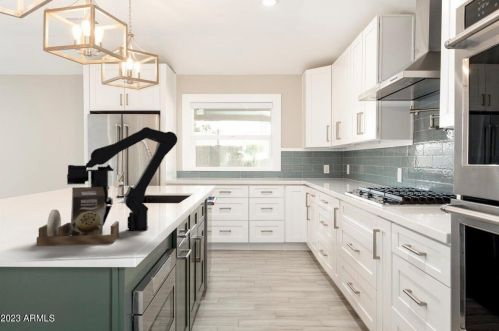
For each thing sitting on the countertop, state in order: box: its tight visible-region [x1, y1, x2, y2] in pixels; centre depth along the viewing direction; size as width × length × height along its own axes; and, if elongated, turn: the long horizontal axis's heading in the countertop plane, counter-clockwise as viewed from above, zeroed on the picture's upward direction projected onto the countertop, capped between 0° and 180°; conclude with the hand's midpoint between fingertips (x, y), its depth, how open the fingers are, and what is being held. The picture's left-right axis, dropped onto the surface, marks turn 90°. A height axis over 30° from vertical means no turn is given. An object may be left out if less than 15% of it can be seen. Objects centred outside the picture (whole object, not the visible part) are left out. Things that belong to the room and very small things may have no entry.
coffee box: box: [70, 186, 105, 236], centre depth 114 cm, size 9×6×16 cm
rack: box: [36, 209, 120, 247], centre depth 114 cm, size 22×10×10 cm, turn 101°
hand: (99, 227), depth 128 cm, fingers open, 9 cm apart
